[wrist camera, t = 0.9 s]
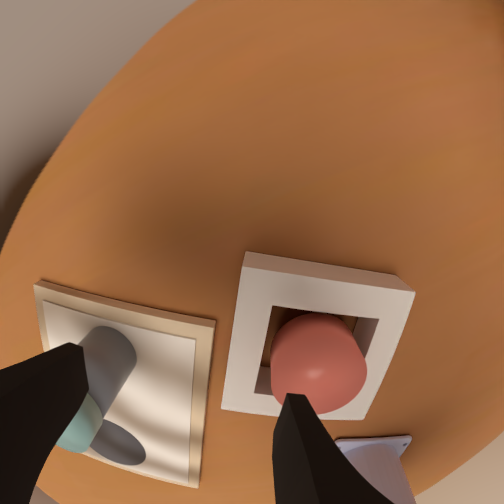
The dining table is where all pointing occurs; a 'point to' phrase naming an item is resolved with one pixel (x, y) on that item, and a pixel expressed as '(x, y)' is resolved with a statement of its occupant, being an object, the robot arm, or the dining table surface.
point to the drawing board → (142, 380)
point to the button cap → (317, 362)
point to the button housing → (313, 299)
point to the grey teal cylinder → (99, 384)
